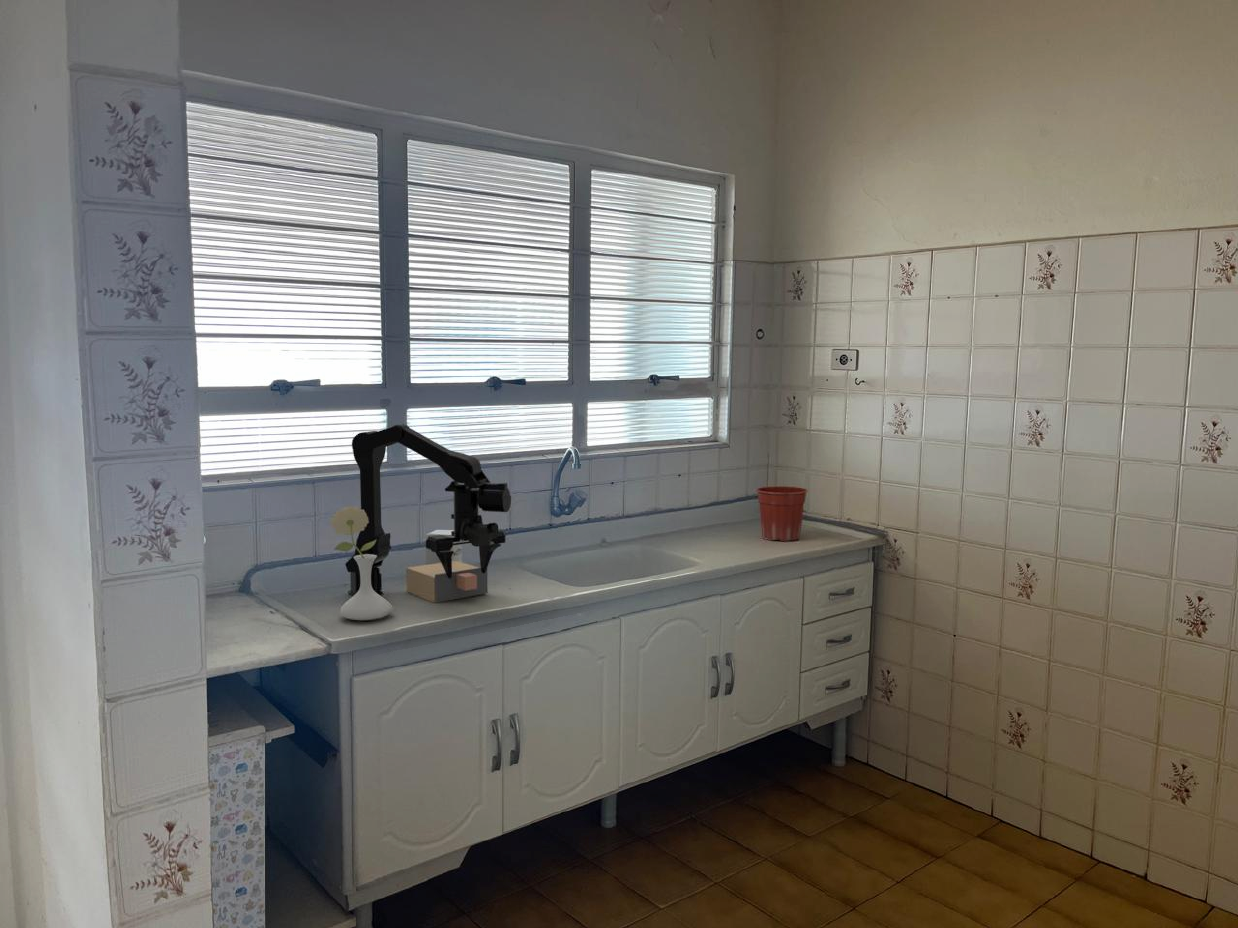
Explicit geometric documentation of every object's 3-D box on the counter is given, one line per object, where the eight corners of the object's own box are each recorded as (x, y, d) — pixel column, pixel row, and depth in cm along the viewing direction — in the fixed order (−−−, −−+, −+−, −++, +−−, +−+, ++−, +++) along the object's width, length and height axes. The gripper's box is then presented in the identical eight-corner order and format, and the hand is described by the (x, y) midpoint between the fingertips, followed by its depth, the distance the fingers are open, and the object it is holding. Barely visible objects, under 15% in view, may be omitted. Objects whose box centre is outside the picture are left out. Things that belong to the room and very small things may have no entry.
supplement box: (452, 583, 247) (452, 534, 246) (425, 582, 248) (424, 533, 247) (463, 577, 254) (462, 530, 253) (436, 575, 256) (436, 528, 254)
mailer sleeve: (434, 602, 227) (434, 577, 226) (406, 591, 238) (406, 567, 237) (485, 593, 236) (485, 569, 235) (456, 583, 247) (456, 560, 246)
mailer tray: (445, 604, 223) (444, 577, 223) (406, 590, 238) (406, 564, 237) (496, 595, 232) (496, 569, 232) (456, 582, 247) (456, 557, 246)
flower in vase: (397, 610, 219) (395, 502, 217) (387, 624, 208) (384, 510, 205) (339, 611, 219) (336, 502, 216) (326, 624, 208) (323, 510, 205)
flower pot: (751, 541, 308) (752, 491, 306) (759, 532, 323) (760, 485, 322) (803, 544, 303) (804, 493, 301) (808, 535, 318) (810, 487, 317)
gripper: (448, 518, 215) (449, 587, 216) (518, 511, 227) (518, 576, 228) (424, 512, 223) (425, 578, 225) (492, 505, 235) (493, 568, 237)
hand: (466, 575), depth 229 cm, fingers open, 9 cm apart
